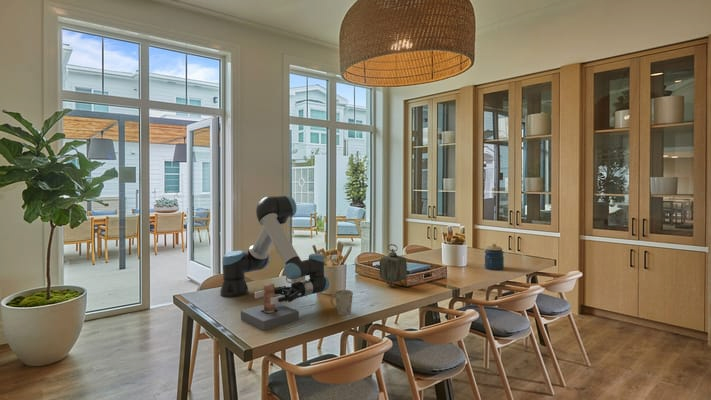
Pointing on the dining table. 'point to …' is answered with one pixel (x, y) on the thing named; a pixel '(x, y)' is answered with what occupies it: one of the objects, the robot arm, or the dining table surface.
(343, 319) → the dining table surface
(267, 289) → the peg
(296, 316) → the board
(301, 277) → the teacup with lid
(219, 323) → the dining table surface
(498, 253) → the canister
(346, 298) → the mug
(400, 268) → the tabletop clock
